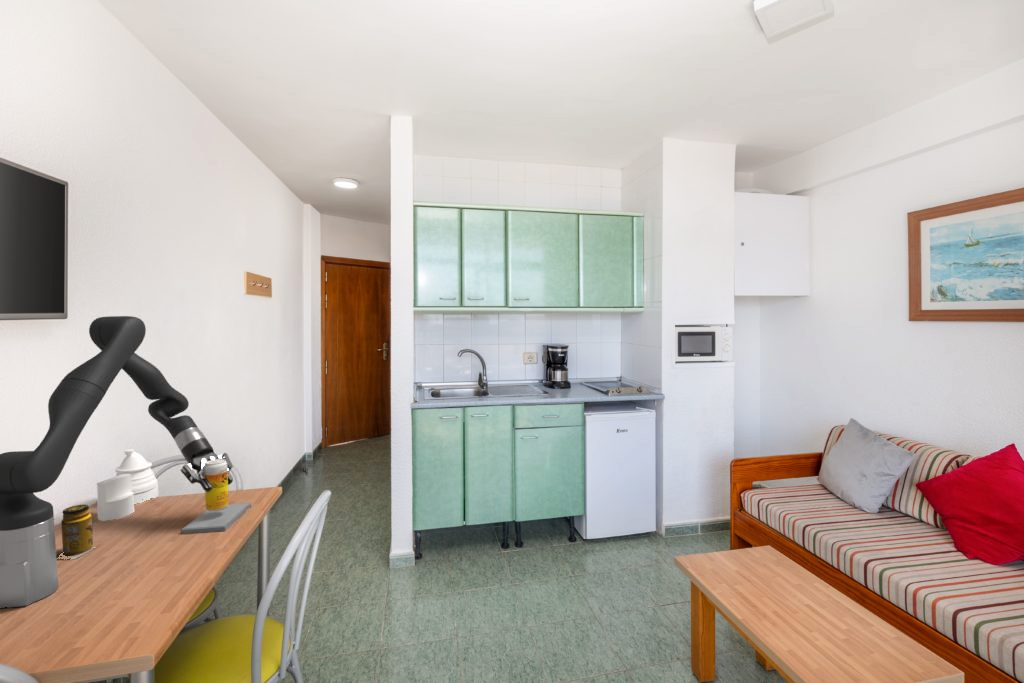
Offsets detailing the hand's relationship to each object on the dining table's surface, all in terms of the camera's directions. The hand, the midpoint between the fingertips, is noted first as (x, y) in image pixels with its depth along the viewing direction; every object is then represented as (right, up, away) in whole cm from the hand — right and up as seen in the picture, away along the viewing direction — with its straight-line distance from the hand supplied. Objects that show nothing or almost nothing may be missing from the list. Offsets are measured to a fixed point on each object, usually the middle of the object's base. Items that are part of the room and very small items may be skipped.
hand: (220, 486), depth 144 cm
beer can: (-2, -7, +1) cm, 8 cm away
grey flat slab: (-1, -11, +1) cm, 11 cm away
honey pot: (-42, -11, +19) cm, 47 cm away
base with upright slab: (-37, -11, +6) cm, 39 cm away
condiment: (-28, -12, -18) cm, 36 cm away
